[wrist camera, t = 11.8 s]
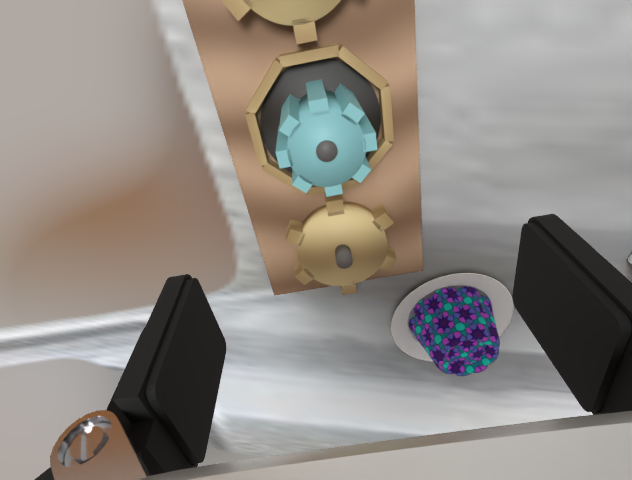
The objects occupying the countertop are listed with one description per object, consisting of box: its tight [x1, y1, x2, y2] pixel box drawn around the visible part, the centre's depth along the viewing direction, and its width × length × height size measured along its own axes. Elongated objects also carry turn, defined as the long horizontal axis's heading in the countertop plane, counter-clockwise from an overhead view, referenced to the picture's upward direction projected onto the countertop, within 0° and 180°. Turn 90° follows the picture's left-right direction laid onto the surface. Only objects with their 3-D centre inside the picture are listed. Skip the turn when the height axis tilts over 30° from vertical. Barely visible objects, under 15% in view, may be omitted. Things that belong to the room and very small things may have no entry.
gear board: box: [182, 0, 423, 295], centre depth 25 cm, size 28×13×4 cm, turn 10°
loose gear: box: [276, 79, 377, 197], centre depth 24 cm, size 6×6×5 cm
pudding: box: [391, 273, 513, 376], centre depth 36 cm, size 12×12×5 cm
